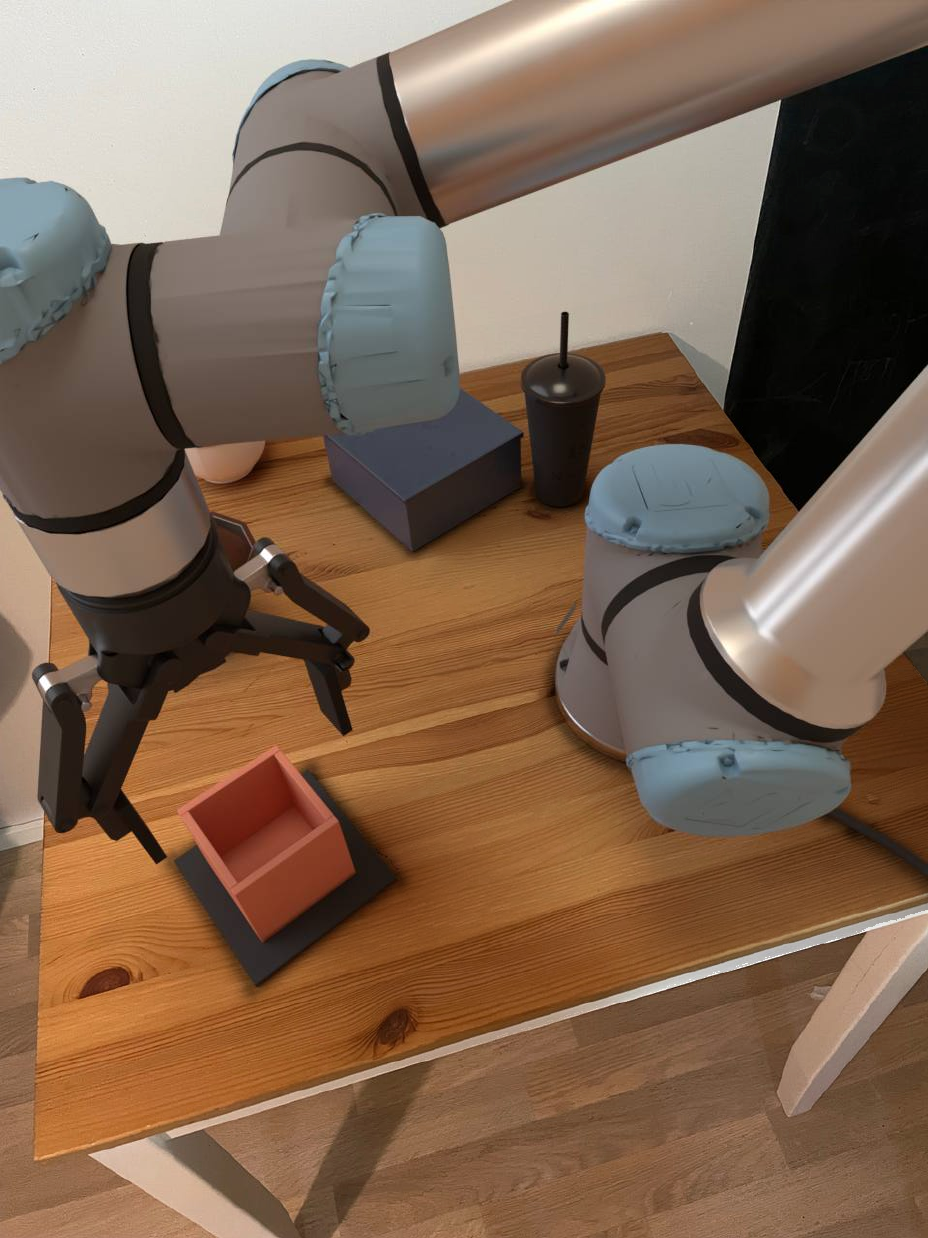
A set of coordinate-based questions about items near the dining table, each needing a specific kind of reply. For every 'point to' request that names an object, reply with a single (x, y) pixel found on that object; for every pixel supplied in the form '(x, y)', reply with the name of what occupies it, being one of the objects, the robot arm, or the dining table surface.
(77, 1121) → the dining table surface
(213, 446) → the trinket box
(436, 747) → the dining table surface
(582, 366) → the drinking cup
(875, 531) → the robot arm
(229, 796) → the tub
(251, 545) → the ice cream bowl
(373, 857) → the mat
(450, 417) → the tin
